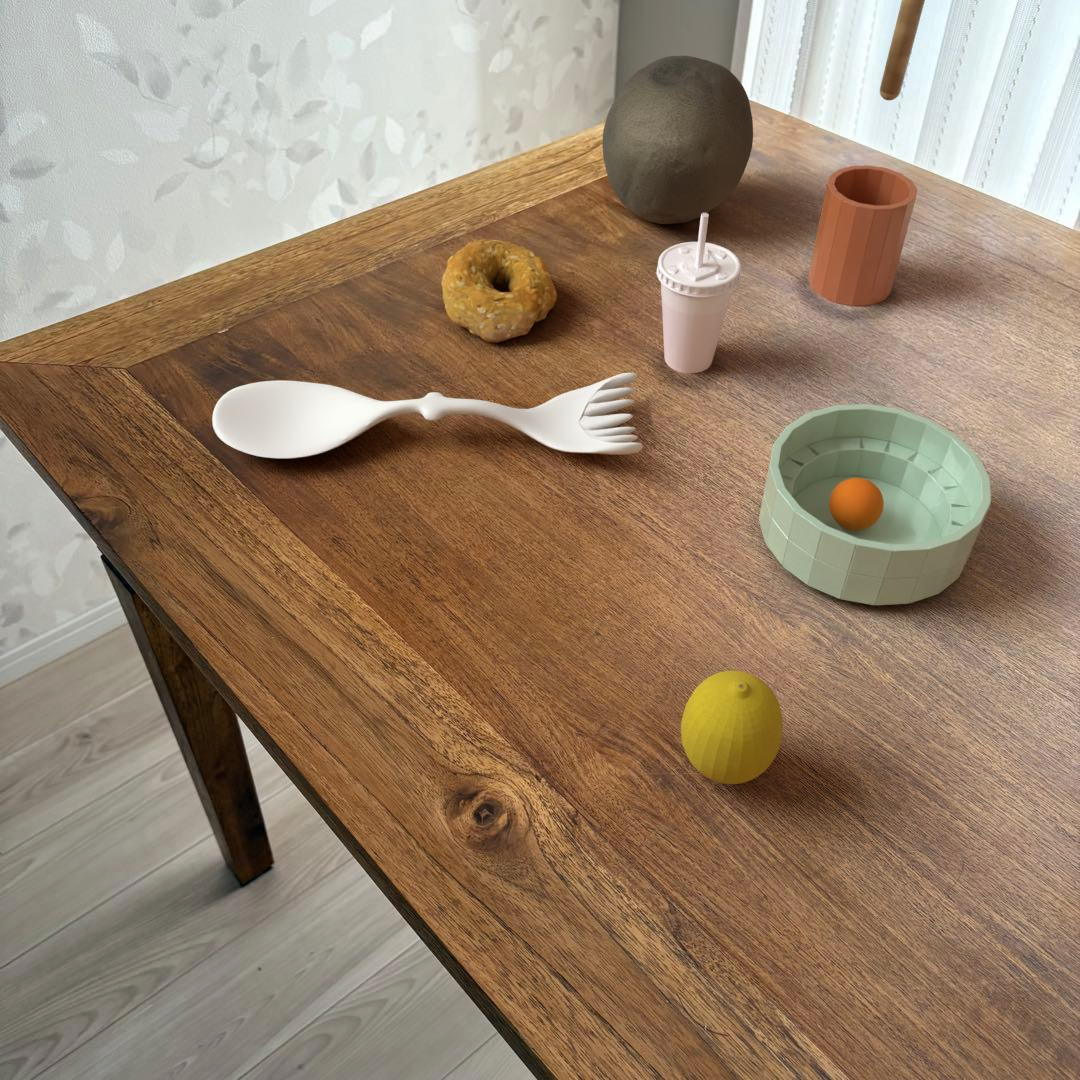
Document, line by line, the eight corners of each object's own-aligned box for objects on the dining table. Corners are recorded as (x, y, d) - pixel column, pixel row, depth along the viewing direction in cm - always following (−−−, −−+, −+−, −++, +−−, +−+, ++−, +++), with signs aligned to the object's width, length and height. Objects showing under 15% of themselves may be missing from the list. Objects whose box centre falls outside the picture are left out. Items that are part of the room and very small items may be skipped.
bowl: (928, 462, 83) (950, 399, 78) (995, 607, 73) (1024, 544, 69) (740, 471, 82) (751, 408, 78) (782, 618, 72) (797, 555, 68)
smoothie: (641, 383, 89) (655, 227, 79) (655, 338, 94) (669, 184, 84) (721, 395, 88) (744, 239, 78) (731, 348, 93) (754, 194, 83)
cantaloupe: (566, 214, 108) (569, 59, 97) (670, 169, 114) (684, 18, 103) (669, 277, 100) (685, 116, 89) (774, 224, 106) (801, 68, 96)
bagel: (440, 348, 93) (436, 299, 89) (445, 275, 100) (442, 228, 97) (559, 347, 93) (559, 298, 89) (555, 274, 100) (555, 226, 97)
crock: (876, 266, 101) (902, 163, 94) (899, 312, 96) (928, 207, 89) (798, 269, 101) (818, 166, 94) (817, 315, 96) (840, 210, 89)
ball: (868, 504, 79) (866, 462, 77) (894, 530, 76) (892, 486, 74) (821, 520, 78) (818, 478, 76) (845, 546, 75) (843, 503, 73)
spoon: (640, 478, 82) (643, 443, 79) (206, 473, 82) (196, 437, 79) (635, 401, 88) (638, 366, 85) (232, 396, 88) (223, 361, 86)
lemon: (655, 767, 65) (667, 685, 59) (716, 712, 67) (732, 628, 61) (730, 828, 62) (750, 748, 56) (790, 768, 64) (814, 685, 59)
